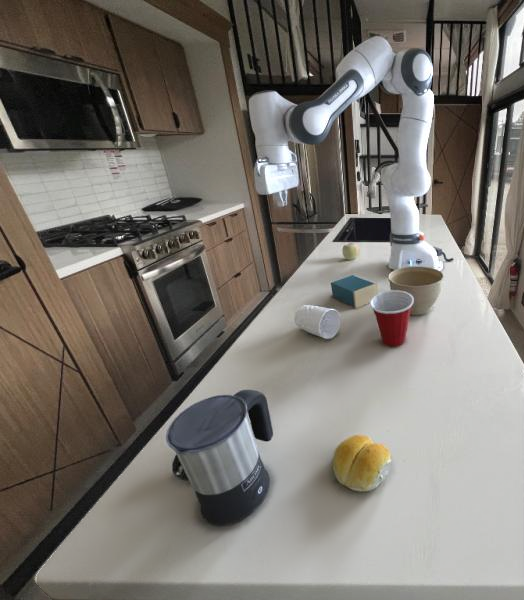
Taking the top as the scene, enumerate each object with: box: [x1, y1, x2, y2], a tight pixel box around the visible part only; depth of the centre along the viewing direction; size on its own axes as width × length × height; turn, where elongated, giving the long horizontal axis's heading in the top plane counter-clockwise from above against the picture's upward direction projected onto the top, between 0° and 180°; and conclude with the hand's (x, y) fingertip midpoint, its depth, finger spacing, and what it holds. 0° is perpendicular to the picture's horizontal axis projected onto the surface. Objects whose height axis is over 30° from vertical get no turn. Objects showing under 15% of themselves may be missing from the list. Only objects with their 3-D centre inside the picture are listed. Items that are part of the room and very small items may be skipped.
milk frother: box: [165, 389, 274, 527], centre depth 46 cm, size 14×16×15 cm
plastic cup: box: [368, 290, 414, 348], centre depth 80 cm, size 11×11×12 cm
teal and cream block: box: [330, 274, 379, 309], centre depth 106 cm, size 5×9×13 cm
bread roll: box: [332, 434, 392, 492], centre depth 50 cm, size 8×9×4 cm
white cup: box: [293, 304, 342, 340], centre depth 86 cm, size 8×8×10 cm
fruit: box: [341, 242, 360, 260], centre depth 142 cm, size 8×7×8 cm
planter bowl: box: [387, 266, 444, 316], centre depth 97 cm, size 16×16×11 cm
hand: (282, 206), depth 99 cm, fingers closed
